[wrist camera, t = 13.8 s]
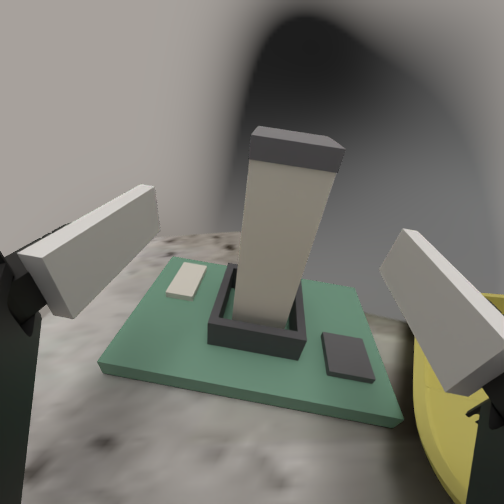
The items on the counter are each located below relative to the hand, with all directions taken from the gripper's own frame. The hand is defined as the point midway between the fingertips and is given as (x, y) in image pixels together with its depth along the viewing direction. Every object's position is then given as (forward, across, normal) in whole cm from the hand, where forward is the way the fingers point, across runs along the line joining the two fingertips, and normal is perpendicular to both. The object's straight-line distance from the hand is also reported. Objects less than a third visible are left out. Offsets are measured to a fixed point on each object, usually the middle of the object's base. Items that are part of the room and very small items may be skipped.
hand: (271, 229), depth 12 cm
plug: (+2, 0, -10) cm, 10 cm away
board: (+2, 0, -11) cm, 11 cm away
